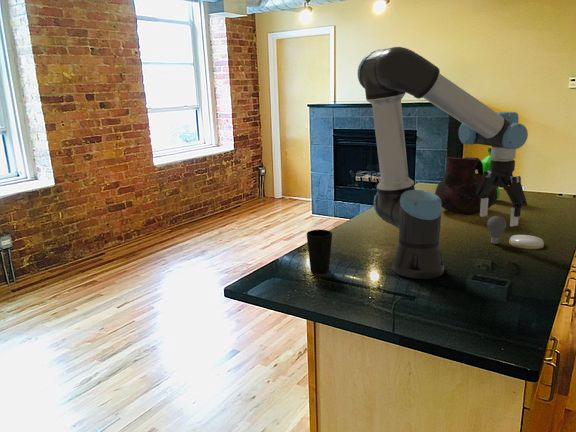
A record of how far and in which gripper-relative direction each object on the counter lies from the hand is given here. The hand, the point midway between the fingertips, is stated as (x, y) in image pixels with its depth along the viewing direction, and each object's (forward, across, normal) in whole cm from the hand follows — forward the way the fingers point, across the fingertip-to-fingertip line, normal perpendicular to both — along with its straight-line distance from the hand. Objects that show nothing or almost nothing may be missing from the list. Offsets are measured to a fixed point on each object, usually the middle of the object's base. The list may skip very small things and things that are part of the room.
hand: (498, 220), depth 163 cm
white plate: (+8, -5, -8) cm, 13 cm away
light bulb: (+8, 0, +1) cm, 8 cm away
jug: (+9, +38, -19) cm, 44 cm away
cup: (+7, +3, +67) cm, 67 cm away
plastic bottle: (+9, +50, -44) cm, 68 cm away
